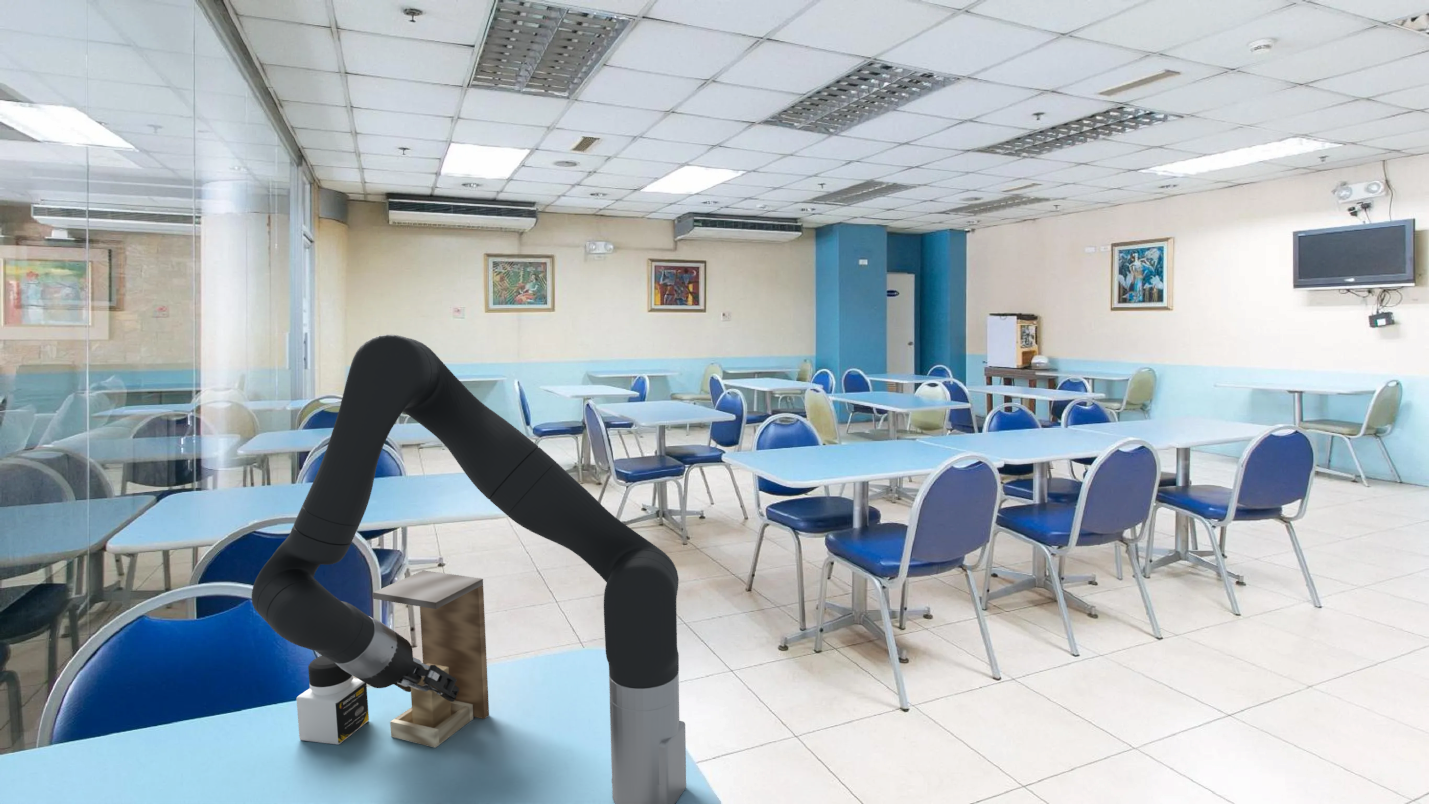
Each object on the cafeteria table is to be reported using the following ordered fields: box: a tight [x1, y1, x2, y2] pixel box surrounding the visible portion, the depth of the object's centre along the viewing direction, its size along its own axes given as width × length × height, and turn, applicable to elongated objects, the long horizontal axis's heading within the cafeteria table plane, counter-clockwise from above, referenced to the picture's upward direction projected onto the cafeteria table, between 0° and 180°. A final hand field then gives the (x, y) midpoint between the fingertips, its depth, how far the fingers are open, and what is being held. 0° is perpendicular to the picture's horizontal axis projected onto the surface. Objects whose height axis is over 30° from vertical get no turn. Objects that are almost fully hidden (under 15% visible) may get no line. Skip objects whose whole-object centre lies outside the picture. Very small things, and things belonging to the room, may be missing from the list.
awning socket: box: [372, 570, 490, 749], centre depth 116 cm, size 12×11×23 cm
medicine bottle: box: [296, 655, 370, 745], centre depth 116 cm, size 7×7×12 cm
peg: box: [410, 663, 451, 728], centre depth 116 cm, size 4×4×10 cm
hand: (433, 690), depth 117 cm, fingers open, 8 cm apart
